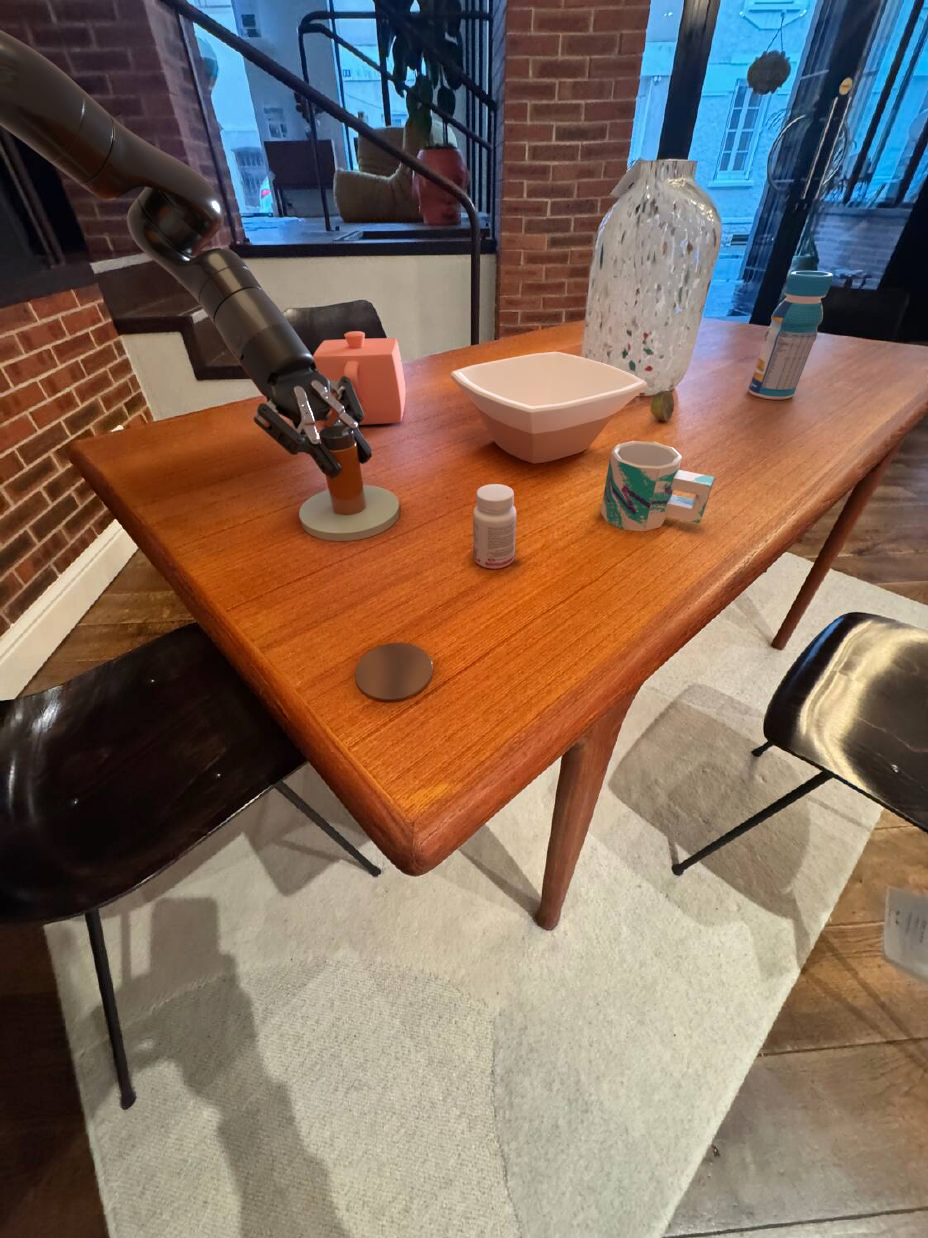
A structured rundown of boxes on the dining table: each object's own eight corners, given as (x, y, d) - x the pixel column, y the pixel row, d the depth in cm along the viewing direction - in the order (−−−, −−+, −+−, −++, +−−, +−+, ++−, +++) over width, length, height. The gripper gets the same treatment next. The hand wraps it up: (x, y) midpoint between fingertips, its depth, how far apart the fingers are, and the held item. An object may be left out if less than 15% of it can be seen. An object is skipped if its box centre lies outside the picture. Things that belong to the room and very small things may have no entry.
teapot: (408, 395, 106) (402, 317, 97) (402, 436, 90) (393, 347, 81) (311, 398, 106) (295, 320, 97) (286, 439, 89) (264, 351, 80)
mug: (613, 495, 72) (624, 435, 67) (704, 515, 67) (723, 453, 62) (593, 522, 67) (603, 459, 61) (690, 546, 62) (710, 480, 57)
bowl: (648, 452, 83) (663, 382, 76) (521, 491, 73) (525, 415, 66) (554, 409, 98) (559, 347, 91) (439, 437, 89) (436, 371, 82)
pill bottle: (521, 554, 61) (525, 488, 56) (501, 574, 58) (504, 506, 53) (486, 543, 63) (487, 478, 58) (465, 562, 60) (464, 495, 55)
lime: (670, 414, 95) (677, 385, 92) (675, 424, 92) (683, 394, 88) (645, 414, 96) (651, 385, 92) (649, 423, 92) (656, 394, 89)
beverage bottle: (775, 403, 98) (820, 278, 85) (737, 391, 104) (774, 272, 91) (803, 395, 101) (851, 273, 88) (765, 384, 107) (804, 268, 94)
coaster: (366, 712, 44) (365, 709, 44) (347, 658, 49) (346, 655, 48) (444, 687, 46) (443, 684, 45) (418, 637, 51) (418, 634, 50)
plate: (310, 550, 63) (308, 542, 62) (293, 503, 72) (291, 495, 71) (412, 527, 66) (412, 519, 66) (384, 485, 76) (383, 477, 75)
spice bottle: (336, 518, 66) (321, 440, 60) (329, 502, 69) (314, 427, 63) (370, 511, 68) (358, 434, 61) (361, 496, 71) (350, 422, 64)
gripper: (303, 352, 69) (380, 462, 71) (205, 379, 60) (296, 503, 62) (322, 310, 63) (406, 432, 65) (217, 334, 54) (317, 473, 56)
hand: (352, 466), depth 64 cm, fingers closed on spice bottle, 4 cm apart
